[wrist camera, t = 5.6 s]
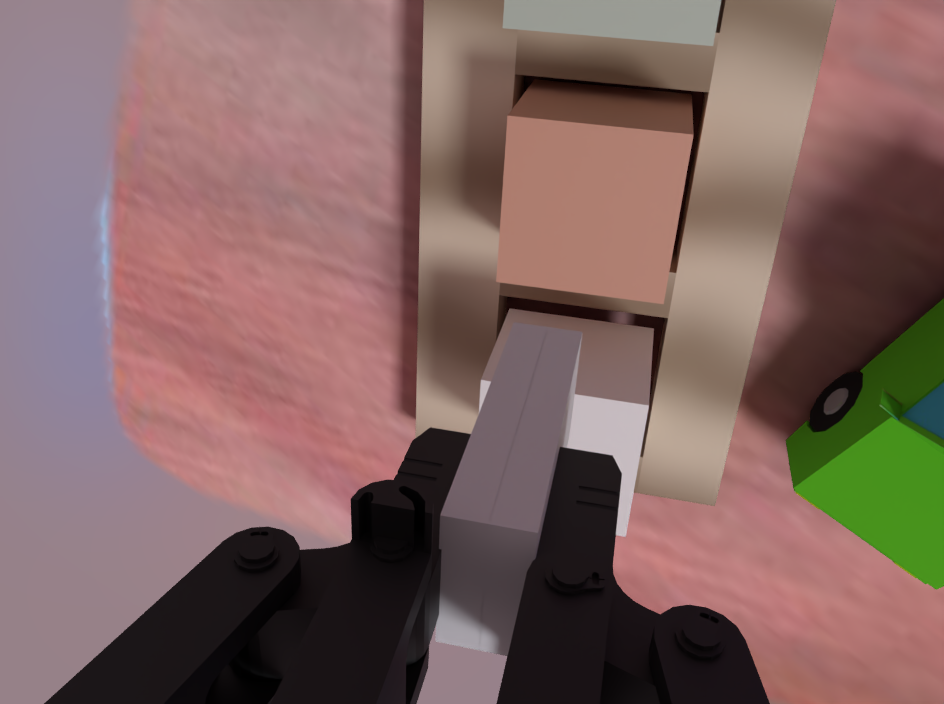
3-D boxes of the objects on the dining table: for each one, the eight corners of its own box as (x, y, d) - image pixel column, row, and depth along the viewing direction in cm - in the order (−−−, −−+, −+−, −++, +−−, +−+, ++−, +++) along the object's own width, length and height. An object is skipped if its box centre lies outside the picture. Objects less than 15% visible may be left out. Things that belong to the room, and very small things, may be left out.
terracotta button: (534, 79, 33) (507, 115, 28) (691, 94, 32) (693, 134, 27) (522, 224, 36) (496, 281, 31) (666, 242, 35) (663, 304, 30)
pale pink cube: (509, 308, 36) (480, 379, 31) (653, 328, 35) (649, 405, 30) (500, 426, 39) (472, 509, 34) (633, 447, 38) (625, 536, 33)
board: (448, -287, 29) (426, -303, 26) (887, -276, 26) (908, -292, 24) (428, 426, 43) (412, 460, 41) (712, 473, 41) (714, 511, 38)
